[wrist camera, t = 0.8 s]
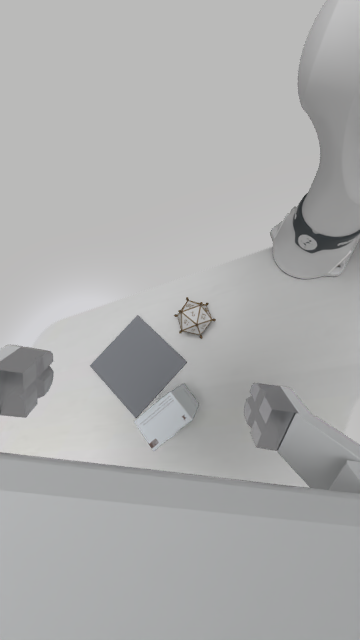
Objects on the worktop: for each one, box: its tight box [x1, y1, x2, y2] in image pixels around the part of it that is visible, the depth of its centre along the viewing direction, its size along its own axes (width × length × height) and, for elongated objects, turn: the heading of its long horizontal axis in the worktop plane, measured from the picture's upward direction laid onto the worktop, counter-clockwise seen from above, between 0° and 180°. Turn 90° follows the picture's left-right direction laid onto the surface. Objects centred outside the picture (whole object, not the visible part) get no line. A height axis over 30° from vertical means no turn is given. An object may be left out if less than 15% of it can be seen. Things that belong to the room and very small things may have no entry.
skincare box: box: [134, 384, 199, 451], centre depth 42 cm, size 8×6×15 cm
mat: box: [90, 315, 187, 418], centre depth 52 cm, size 17×17×1 cm
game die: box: [174, 298, 215, 338], centre depth 49 cm, size 9×8×10 cm
